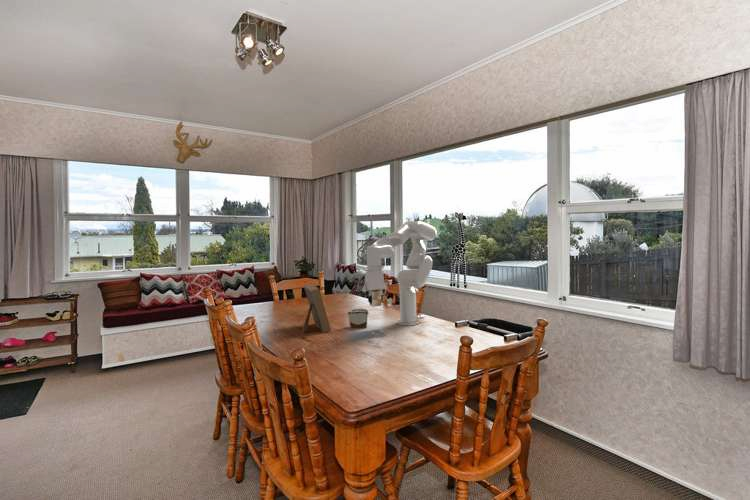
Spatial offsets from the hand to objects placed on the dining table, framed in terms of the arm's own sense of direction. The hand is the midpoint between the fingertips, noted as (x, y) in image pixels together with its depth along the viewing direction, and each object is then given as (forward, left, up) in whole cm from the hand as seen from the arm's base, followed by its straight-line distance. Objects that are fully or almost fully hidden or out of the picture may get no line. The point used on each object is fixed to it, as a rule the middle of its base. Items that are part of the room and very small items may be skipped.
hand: (375, 302), depth 205 cm
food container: (+4, -18, -18) cm, 25 cm away
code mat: (+6, 0, -17) cm, 18 cm away
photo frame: (+29, -26, -18) cm, 43 cm away
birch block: (0, 0, -2) cm, 2 cm away
